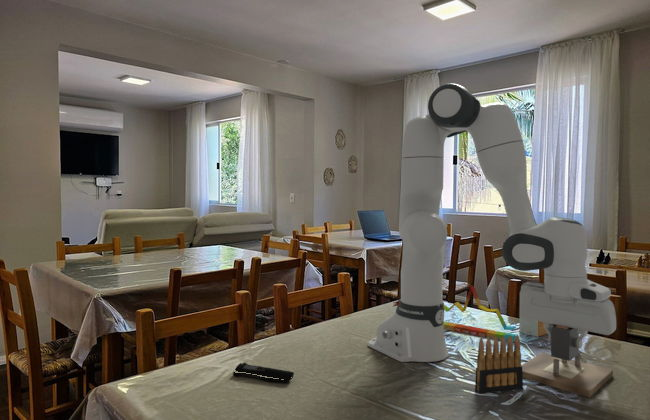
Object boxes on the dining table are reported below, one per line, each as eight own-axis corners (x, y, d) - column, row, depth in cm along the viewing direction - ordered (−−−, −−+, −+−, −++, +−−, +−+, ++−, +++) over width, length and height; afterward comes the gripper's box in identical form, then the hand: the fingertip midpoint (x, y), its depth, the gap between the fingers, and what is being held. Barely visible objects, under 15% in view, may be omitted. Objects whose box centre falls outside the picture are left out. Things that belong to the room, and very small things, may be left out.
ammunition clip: (518, 385, 100) (518, 333, 99) (523, 389, 98) (523, 335, 98) (474, 390, 98) (475, 336, 97) (479, 393, 96) (479, 339, 96)
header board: (515, 375, 105) (515, 354, 105) (542, 357, 116) (542, 339, 116) (589, 397, 94) (590, 374, 93) (612, 376, 104) (613, 355, 104)
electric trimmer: (289, 388, 100) (289, 374, 100) (231, 377, 106) (231, 364, 106) (296, 382, 104) (296, 368, 104) (240, 371, 110) (240, 359, 110)
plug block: (551, 356, 104) (551, 325, 104) (560, 349, 108) (560, 320, 108) (569, 360, 101) (569, 329, 101) (578, 354, 105) (578, 324, 105)
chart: (416, 325, 147) (416, 280, 146) (421, 322, 149) (421, 278, 149) (512, 343, 128) (513, 292, 127) (515, 340, 130) (516, 290, 130)
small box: (538, 337, 132) (538, 294, 132) (518, 332, 137) (519, 290, 137) (553, 332, 137) (553, 291, 136) (533, 327, 142) (534, 287, 141)
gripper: (515, 282, 110) (515, 337, 110) (610, 295, 94) (609, 359, 95) (526, 278, 114) (526, 331, 114) (618, 290, 99) (618, 351, 99)
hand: (564, 344), depth 104 cm, fingers closed on plug block, 4 cm apart
